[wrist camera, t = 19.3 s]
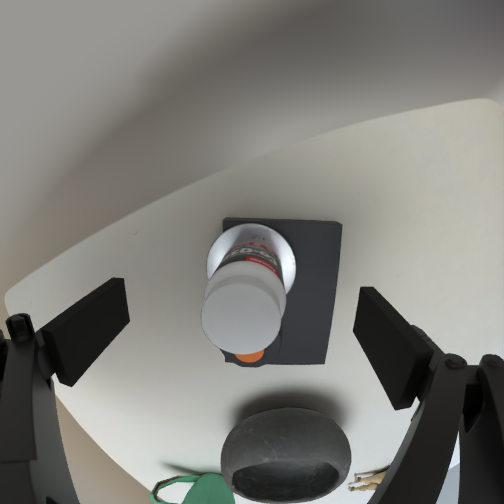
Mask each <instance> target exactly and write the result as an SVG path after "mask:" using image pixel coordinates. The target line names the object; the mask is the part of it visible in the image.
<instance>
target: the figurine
mask: <svg viewBox="0 0 504 504" xmlns="http://www.w3.org/2000/svg"><path fill="white" fill-rule="evenodd" d="M388 469H389V468H388ZM388 469H387V470H386V471H384V472H382V473H379V474H376V475H374V476H372V477H366V478H362V479H361V477H358V478H357V477H356V474H355V482H364V483H369V484H368V485H362V486H360V487H357V488H355V487H350V486H349V488H348V489H349V490H350V491H354V490H360V491H365V490H367V489H368V490H376V489H377V488H378V486H379V484H380V483H381V481H382V479H383V478H384V476H385V474H386V473H387V471H388ZM370 482H371V483H370Z"/></svg>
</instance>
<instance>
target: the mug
mask: <svg viewBox="0 0 504 504" xmlns="http://www.w3.org/2000/svg"><path fill="white" fill-rule="evenodd" d="M176 482H195V483H194V485H193V486H192V487H191V489H190V490H189V491H188V493H187V495H186V497H185V499H184V501H183V502H182V504H235V500H234V496H233V492H232V491H231V489H230V488H229V487H228V486H227V484H226V482H225V480H224V478H223V476H222V475H219V474H215V473H205V474H203V475H201V476H175V477H172V478H169V479H166V480H163V481H160V482H157V484H156V485H155V487H154V488H153V490H152V492H151V493H150V495H149V497H150V499H151V501H152V502H153V504H176V503H168V502H164V501H162V500H159V499H157V493H158V491H159V490H160V489H162V488H164V487H166V486H168V485H171V484H173V483H176Z"/></svg>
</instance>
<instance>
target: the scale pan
mask: <svg viewBox="0 0 504 504" xmlns="http://www.w3.org/2000/svg"><path fill="white" fill-rule="evenodd" d="M243 242H258V243H261V244H264V245H266V246H268V247H269V248H271V249H272V250H273V251H274V252H275V253H276V255H277V256H278V258H279V260H280V262H281V266H282V272H283V280H284V286H285V292H286V294H287V293H288V292H289V290H290V289H291V287H292V285H293V282H294V279H295V275H296V261H295V256H294V253H293V251H292V248H291V247H290V245H289V243H288V242H287V240H286V239H285V238H284V237H283V236H282V235H281V234H279V233H278V232H277V231H275V230H274V229H272V228H270V227H267V226H264V225H261V224H254V223H248V224H241V225H237V226H234V227H232V228H230V229H228V230H226V231H225V232H224V233H222V234H221V235H220V236H219V237H218V238H217V239H216V241H215V242H214V243H213V245H212V246H211V248H210V251H209V253H208V257H207V263H206V271H207V276H208V280H210V277H211V276H212V275H213V273H214V272H215V270H216V269H217V267H218V265H219V264H220V262H221V261H222V259H223V257H224V255H225V254H226V253H227V252H228V251H229V250H230V249H231V248H232V247H234V246H236V245H237V244H240V243H243Z"/></svg>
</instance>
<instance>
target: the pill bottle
mask: <svg viewBox="0 0 504 504" xmlns="http://www.w3.org/2000/svg"><path fill="white" fill-rule="evenodd" d="M285 306H286V292H285V286H284V280H283V272H282V266H281V262H280V260H279V258H278V256H277V255H276V253H275V252H274V251H273V250H272V249H271V248H269V247H268V246H266V245H264V244H261V243H258V242H243V243H240V244H237V245H236V246H234V247H232V248H231V249H230V250H229V251H228V252H227V253H226V254H225V255H224V257H223V259H222V261H221V262H220V264H219V265H218V267H217V269H216V270H215V272H214V273H213V275H212V276H211V277H210V280H209V282H208V284H207V287H206V290H205V294H204V304H203V307H202V311H201V323H202V327H203V330H204V332H205V334H206V335H207V337H208V338H209V339H210V341H211V342H212V343H213V344H215V345H216V346H217V347H219V348H220V349H222V350H224V351H227V352H230V353H234V354H252V353H256V352H258V351H261V350H263V349H264V348H266V347H267V346H269V345H270V344H271V343H272V342H273V341H274V339H275V338H276V336H277V335H278V332H279V330H280V326H281V318H282V316H283V314H284V311H285Z"/></svg>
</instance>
